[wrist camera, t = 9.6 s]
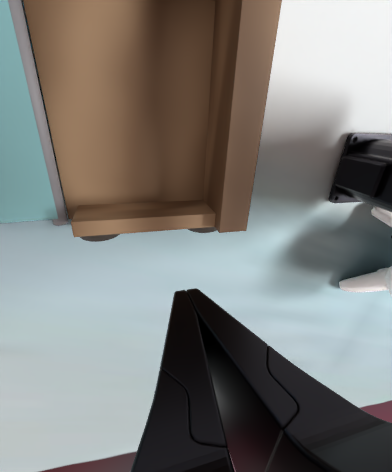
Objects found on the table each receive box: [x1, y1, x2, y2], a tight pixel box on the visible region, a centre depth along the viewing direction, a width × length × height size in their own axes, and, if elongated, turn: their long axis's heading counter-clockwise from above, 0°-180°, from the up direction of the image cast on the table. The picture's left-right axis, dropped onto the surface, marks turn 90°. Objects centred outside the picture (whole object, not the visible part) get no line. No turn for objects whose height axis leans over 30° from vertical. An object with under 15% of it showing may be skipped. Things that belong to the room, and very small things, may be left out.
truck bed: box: [23, 0, 282, 241], centre depth 15 cm, size 12×16×6 cm
